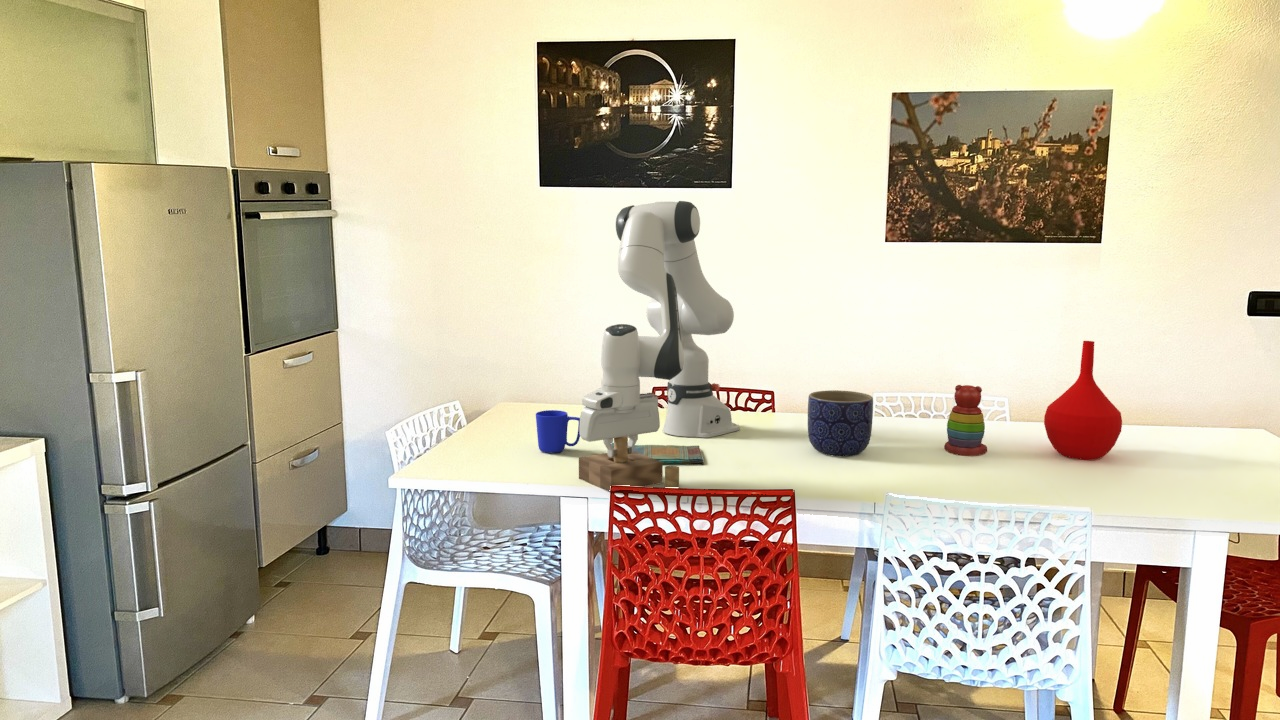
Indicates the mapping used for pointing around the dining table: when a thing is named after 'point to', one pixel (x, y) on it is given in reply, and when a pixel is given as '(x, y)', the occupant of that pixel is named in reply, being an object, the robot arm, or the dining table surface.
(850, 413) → the planter
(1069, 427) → the vase
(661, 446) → the dish towel
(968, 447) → the stacking bear
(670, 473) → the short dowel
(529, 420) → the dining table surface
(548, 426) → the mug
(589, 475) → the hole block
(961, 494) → the dining table surface
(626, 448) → the long dowel
